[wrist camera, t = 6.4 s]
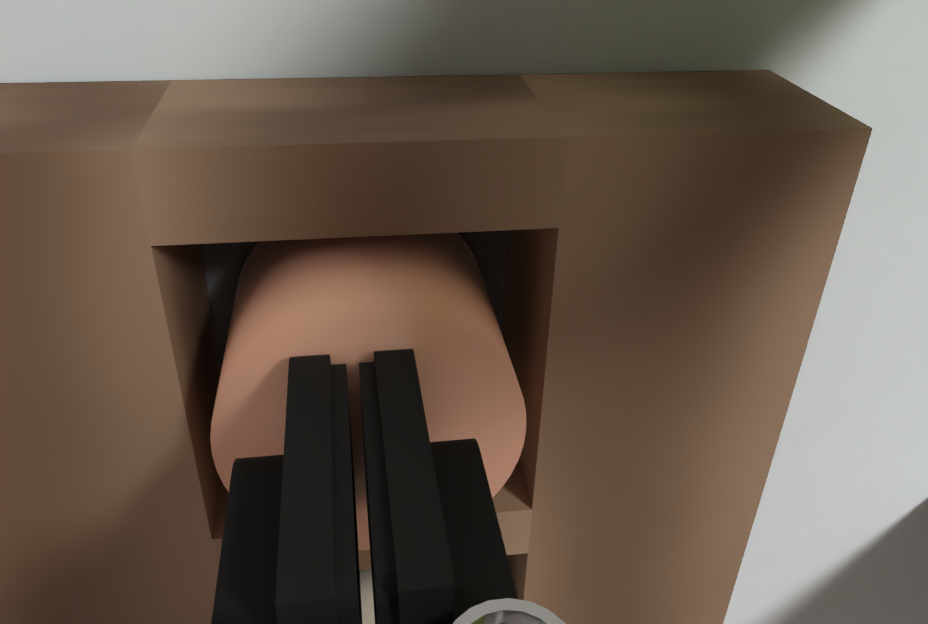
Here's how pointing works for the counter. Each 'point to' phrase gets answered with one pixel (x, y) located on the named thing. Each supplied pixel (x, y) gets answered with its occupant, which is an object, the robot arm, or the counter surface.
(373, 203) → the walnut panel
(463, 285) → the brown egg
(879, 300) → the counter surface
